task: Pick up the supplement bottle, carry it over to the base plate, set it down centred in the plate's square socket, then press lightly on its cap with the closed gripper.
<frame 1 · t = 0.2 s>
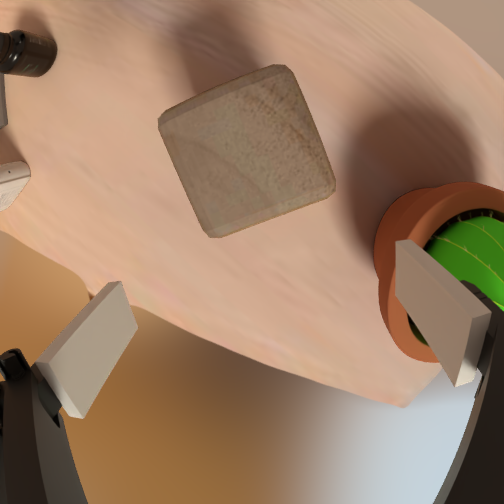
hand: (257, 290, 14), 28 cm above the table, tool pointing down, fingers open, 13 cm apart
supplement bottle: (43, 58, 34), on the table
photo printer: (15, 184, 42), on the table
potted cactus: (424, 244, 42), on the table
wooden block: (257, 146, 38), on the table
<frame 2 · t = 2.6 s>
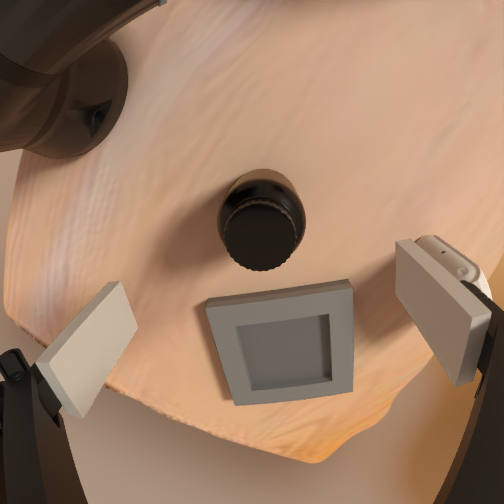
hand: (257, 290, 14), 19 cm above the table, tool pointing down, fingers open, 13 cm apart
base plate: (286, 345, 38), on the table
supplement bottle: (263, 201, 32), on the table
photo printer: (432, 270, 34), on the table
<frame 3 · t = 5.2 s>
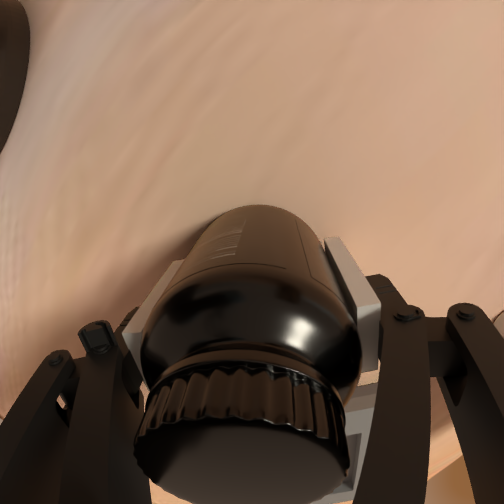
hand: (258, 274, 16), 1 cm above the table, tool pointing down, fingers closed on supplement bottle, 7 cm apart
base plate: (292, 455, 23), on the table
supplement bottle: (259, 264, 17), on the table, touching gripper
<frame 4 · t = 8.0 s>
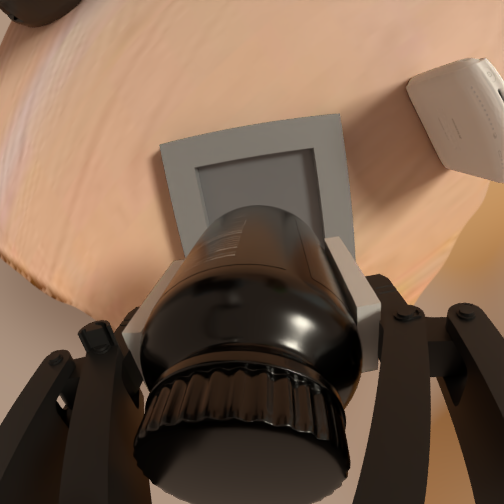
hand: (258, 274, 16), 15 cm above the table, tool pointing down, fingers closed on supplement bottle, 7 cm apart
base plate: (263, 209, 30), on the table
supplement bottle: (259, 265, 17), point 14 cm above the table, touching gripper
photo printer: (435, 120, 26), on the table
when the fingers open (3 cm above the table, at t = 11.0 s): supplement bottle drops 1 cm, resting on base plate.
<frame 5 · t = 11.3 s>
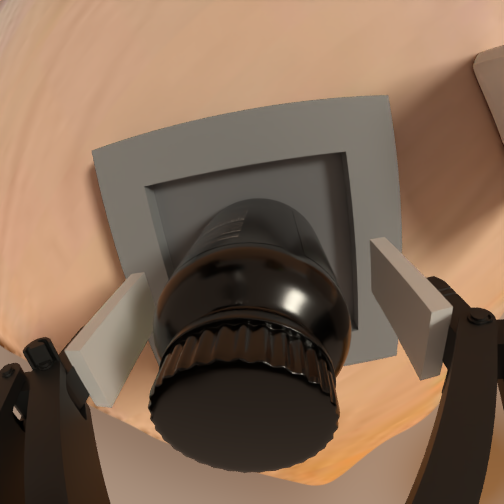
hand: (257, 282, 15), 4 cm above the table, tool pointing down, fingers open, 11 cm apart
base plate: (260, 250, 19), on the table
supplement bottle: (259, 254, 18), point 1 cm above the table, touching base plate
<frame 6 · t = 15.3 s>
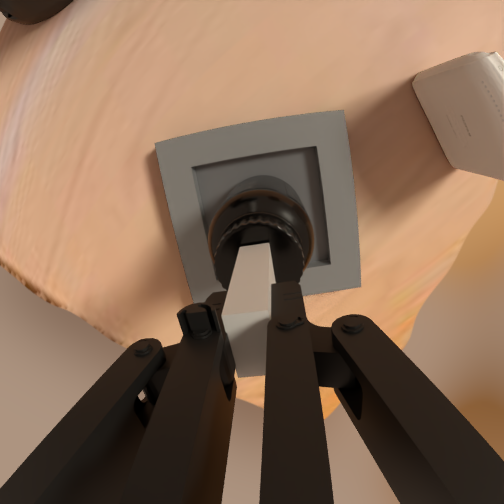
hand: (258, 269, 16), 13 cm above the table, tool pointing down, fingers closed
base plate: (264, 210, 29), on the table
supplement bottle: (263, 212, 28), point 1 cm above the table, touching base plate, gripper
photo printer: (442, 118, 24), on the table
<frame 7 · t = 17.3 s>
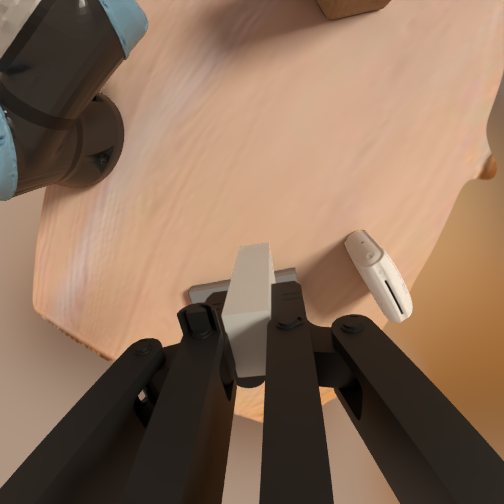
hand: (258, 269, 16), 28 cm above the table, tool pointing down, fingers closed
base plate: (253, 321, 50), on the table
supplement bottle: (253, 324, 49), point 1 cm above the table, touching base plate
photo printer: (366, 258, 45), on the table
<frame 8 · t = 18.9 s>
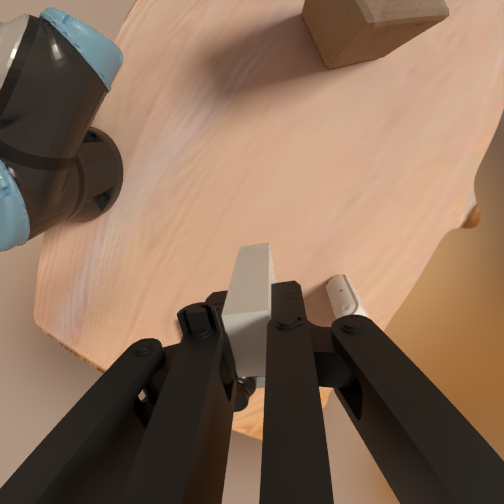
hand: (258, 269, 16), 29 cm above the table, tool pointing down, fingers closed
supplement bottle: (239, 351, 53), point 1 cm above the table, touching base plate
photo printer: (346, 299, 50), on the table
wooden block: (343, 34, 35), on the table
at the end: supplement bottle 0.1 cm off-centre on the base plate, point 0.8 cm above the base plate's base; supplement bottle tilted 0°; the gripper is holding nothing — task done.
